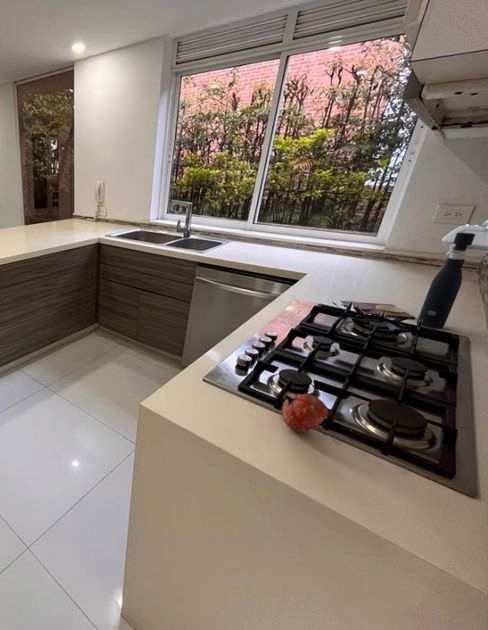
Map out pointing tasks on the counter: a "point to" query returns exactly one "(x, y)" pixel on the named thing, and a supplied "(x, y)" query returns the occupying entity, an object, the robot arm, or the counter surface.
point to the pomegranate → (303, 412)
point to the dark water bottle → (445, 285)
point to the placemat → (387, 310)
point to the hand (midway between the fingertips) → (466, 259)
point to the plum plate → (358, 305)
